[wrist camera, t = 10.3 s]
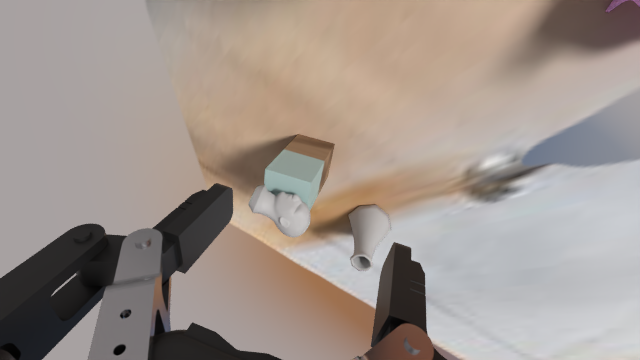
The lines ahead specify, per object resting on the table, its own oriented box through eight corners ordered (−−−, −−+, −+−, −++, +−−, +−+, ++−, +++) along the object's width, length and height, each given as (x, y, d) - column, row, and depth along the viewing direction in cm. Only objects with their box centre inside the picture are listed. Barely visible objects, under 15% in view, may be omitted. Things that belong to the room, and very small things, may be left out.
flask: (341, 211, 49) (327, 251, 41) (378, 197, 46) (371, 238, 38) (361, 241, 52) (352, 284, 43) (398, 230, 48) (396, 275, 40)
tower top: (283, 149, 39) (265, 168, 34) (324, 161, 38) (311, 182, 33) (280, 184, 43) (262, 206, 38) (317, 195, 42) (304, 220, 37)
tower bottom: (298, 134, 44) (283, 149, 39) (334, 143, 43) (324, 160, 38) (294, 166, 48) (280, 184, 43) (327, 176, 47) (317, 195, 42)
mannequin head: (322, 206, 36) (298, 233, 38) (272, 167, 35) (249, 197, 37) (319, 220, 32) (293, 250, 34) (263, 177, 31) (238, 210, 33)
